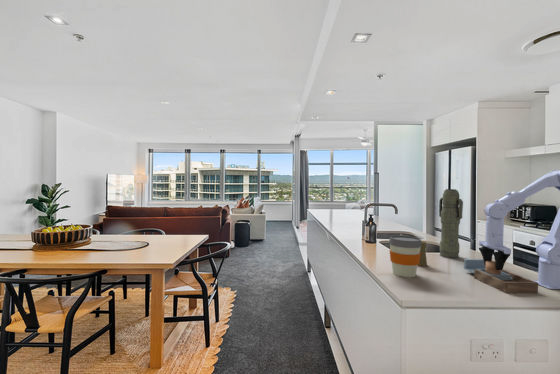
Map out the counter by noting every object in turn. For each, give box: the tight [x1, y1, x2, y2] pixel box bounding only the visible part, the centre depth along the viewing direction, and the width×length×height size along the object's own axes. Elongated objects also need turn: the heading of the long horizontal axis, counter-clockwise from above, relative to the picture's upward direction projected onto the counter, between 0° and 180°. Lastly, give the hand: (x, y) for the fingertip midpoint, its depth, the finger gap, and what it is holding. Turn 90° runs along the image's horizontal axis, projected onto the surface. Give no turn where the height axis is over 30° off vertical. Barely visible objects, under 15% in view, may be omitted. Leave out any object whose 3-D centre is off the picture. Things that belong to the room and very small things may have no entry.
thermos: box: [438, 188, 464, 259], centre depth 157 cm, size 9×12×35 cm
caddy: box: [473, 268, 539, 294], centre depth 114 cm, size 16×12×4 cm
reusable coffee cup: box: [388, 234, 422, 278], centre depth 125 cm, size 13×13×15 cm
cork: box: [417, 240, 428, 267], centre depth 140 cm, size 6×6×11 cm
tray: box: [463, 258, 513, 280], centre depth 123 cm, size 14×10×4 cm
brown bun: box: [485, 260, 501, 275], centre depth 119 cm, size 5×5×5 cm
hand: (493, 267), depth 119 cm, fingers open, 5 cm apart
